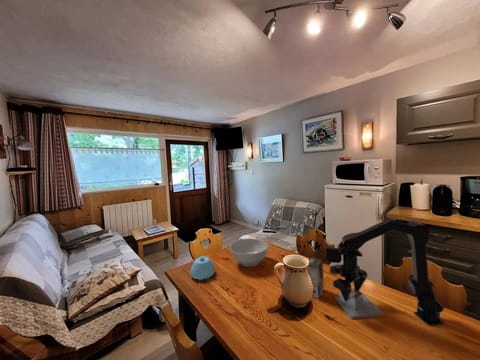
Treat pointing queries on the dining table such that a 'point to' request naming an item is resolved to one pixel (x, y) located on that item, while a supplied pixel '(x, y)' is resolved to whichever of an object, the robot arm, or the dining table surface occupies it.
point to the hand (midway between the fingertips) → (351, 296)
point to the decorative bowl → (249, 251)
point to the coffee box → (316, 276)
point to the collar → (353, 300)
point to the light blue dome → (202, 268)
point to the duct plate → (360, 308)
